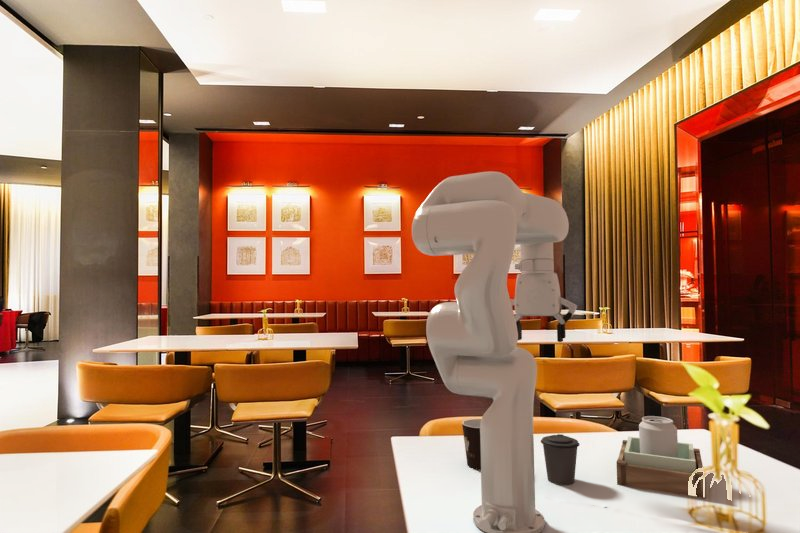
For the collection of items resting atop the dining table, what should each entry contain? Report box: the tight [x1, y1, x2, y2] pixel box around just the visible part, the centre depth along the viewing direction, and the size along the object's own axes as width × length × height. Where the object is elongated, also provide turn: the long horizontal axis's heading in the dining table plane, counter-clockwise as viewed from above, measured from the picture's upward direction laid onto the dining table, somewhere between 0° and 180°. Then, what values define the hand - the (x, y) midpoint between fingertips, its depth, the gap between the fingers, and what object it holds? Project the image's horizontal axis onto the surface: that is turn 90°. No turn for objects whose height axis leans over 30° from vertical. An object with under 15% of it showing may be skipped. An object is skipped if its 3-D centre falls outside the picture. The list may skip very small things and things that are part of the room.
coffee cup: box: [540, 433, 580, 486], centre depth 107 cm, size 8×8×10 cm
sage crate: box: [624, 436, 696, 473], centre depth 108 cm, size 13×13×6 cm
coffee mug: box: [461, 418, 482, 471], centre depth 117 cm, size 12×9×10 cm
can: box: [638, 415, 679, 458], centre depth 108 cm, size 8×8×12 cm
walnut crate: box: [616, 439, 707, 499], centre depth 108 cm, size 18×16×5 cm
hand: (539, 340), depth 115 cm, fingers open, 9 cm apart
